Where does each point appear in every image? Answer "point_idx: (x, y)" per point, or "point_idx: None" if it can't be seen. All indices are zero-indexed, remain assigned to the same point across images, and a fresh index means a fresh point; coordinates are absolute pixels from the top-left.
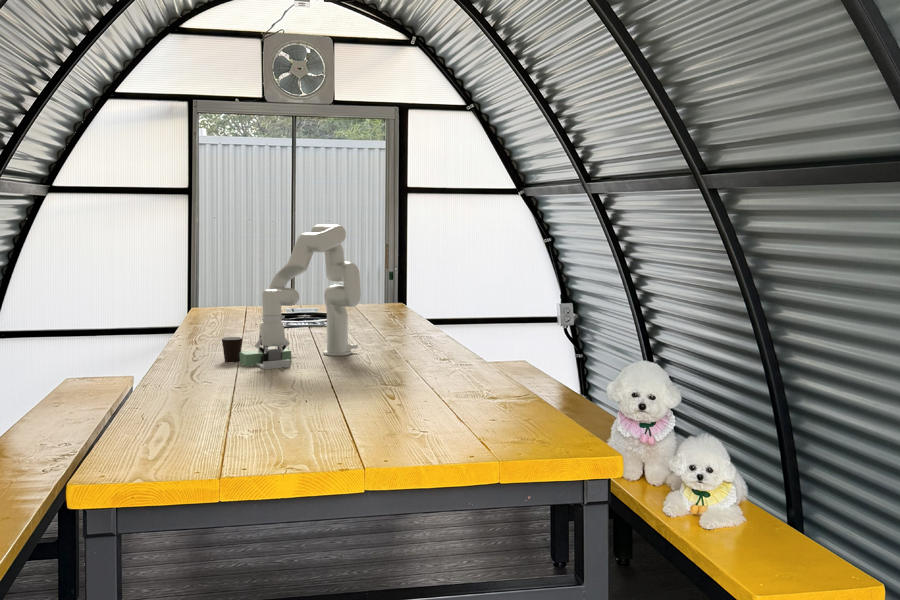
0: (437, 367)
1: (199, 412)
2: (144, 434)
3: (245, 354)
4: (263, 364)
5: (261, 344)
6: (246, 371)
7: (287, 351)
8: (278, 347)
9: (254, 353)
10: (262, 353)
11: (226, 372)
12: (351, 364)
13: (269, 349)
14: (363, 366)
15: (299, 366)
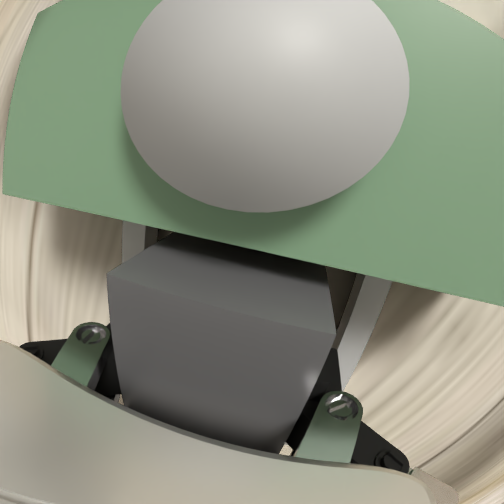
0: (498, 495)
1: None
2: None
3: (3, 184)
4: None
5: (6, 352)
6: (57, 324)
7: (499, 304)
8: (312, 451)
9: (58, 176)
10: (135, 220)
11: (2, 273)
12: (501, 448)
13: (198, 323)
14: (477, 476)
15: (375, 419)
